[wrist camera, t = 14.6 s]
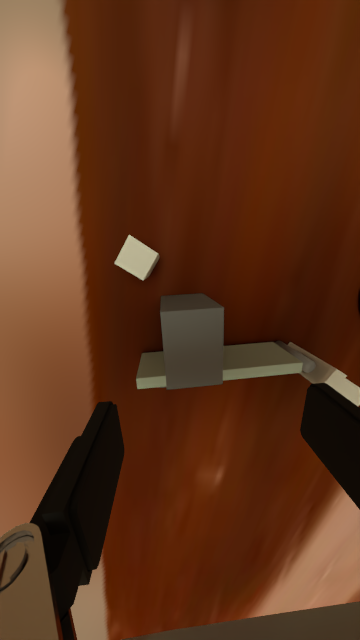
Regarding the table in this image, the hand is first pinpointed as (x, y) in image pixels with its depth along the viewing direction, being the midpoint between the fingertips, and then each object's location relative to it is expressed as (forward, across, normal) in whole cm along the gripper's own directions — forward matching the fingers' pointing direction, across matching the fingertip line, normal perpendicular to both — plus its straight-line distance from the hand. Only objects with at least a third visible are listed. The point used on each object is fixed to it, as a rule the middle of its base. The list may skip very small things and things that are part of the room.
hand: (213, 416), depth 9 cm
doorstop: (+15, 0, 0) cm, 15 cm away
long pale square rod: (+14, -4, +4) cm, 15 cm away
